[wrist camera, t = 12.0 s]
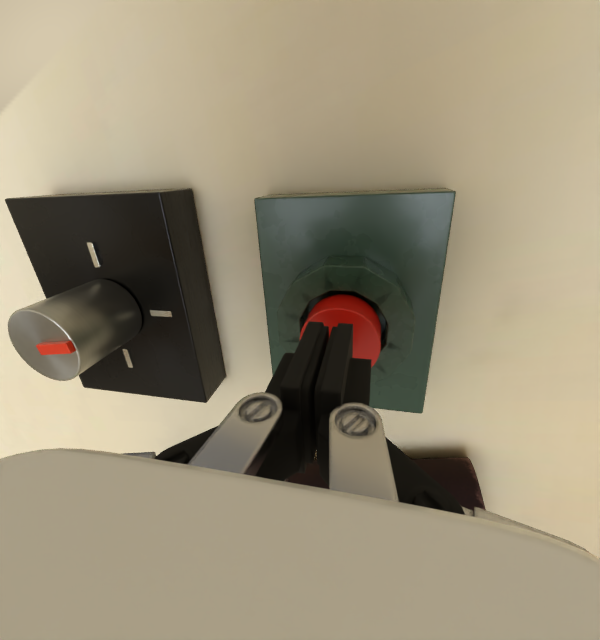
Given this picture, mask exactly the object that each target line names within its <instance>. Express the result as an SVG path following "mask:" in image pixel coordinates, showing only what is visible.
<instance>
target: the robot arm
mask: <svg viewBox="0 0 600 640" xmlns="http://www.w3.org/2000/svg"><path fill="white" fill-rule="evenodd" d="M371 362H372V359H361V358H353V324H347V323H338V326H337V327H332V330H331V333H330V337H329V327H328V326H324V323H323V322H310V321H309V322H308V324H307V326H306V328H305V331H304V333H303V335H302V337H301V340H300V342H299V344H298V346H297V349H296V351H295V353H285V354H284V355H283V357H282V359H281V361H280V363H279V365H278V367H277V369H276V371H275V373H274V375H273V377H272V379H271V381H270V383H269V385H268V387H267V389H266V391H265V393H264V392H260V393H254V394H250V395H248V396H246V397H244V398H242V399H241V400H240V401H239V402H238V403H237V404H236V405H235V406H234V408H233V409H232V410H231V411H230V413H229V414H228V415H227V416H226V417H225V419H224V420H223V421H222V422H221V424H220V425H219V426H217V427H215V428H212V429H210V430H208V431H206V432H203V433H201V434H199V435H197V436H194V437H192V438H190V439H188V440H185V441H183V442H181V443H179V444H177V445H174V446H172V447H170V448H168V449H166V450H164V451H163V452H161V453H160V454H159V455H158V456H156V454H155V452H144V453H125V454H118V453H111V452H104V451H95V450H86V449H64V448H59V449H44V450H37V451H31V452H26V453H20V454H15V455H12V456H8V457H5V458H2V459H0V640H600V558H599V557H597V556H594V555H592V554H591V553H589V552H588V551H587V550H585V549H584V548H582V547H580V546H578V545H576V544H574V543H572V542H570V541H568V540H565V539H562V538H560V537H557V536H554V535H551V534H549V533H546V532H543V531H541V530H538V529H535V528H532V527H530V526H527V525H524V524H521V523H519V522H516V521H513V520H510V519H508V518H505V517H502V516H500V515H497V514H494V513H491V512H489V511H486V510H483V509H480V508H478V507H474V510H473V511H472V510H470V509H467V508H464V507H462V506H461V505H460V504H459V502H458V501H457V500H456V499H455V498H454V497H453V496H452V495H451V494H450V493H449V492H448V491H447V490H446V489H445V488H443V487H442V486H441V485H440V484H439V483H438V482H437V481H435V480H434V479H433V478H432V477H431V476H430V475H429V474H427V473H426V472H425V471H424V470H423V469H422V468H420V467H419V466H418V465H417V464H416V463H415V462H414V461H412V460H411V459H410V458H409V457H408V456H407V455H405V454H404V453H403V452H402V451H401V450H400V449H399V448H397V447H396V446H395V445H394V444H393V443H392V442H391V441H389V440H388V439H387V438H386V437H385V433H384V428H383V423H382V420H381V417H380V415H379V414H378V413H377V412H376V410H374V409H373V408H371V407H370V406H369V402H370V382H371ZM316 450H317V464H318V465H319V475H320V476H321V477H322V479H323V480H324V481H325V482H326V484H327V485H328V486H329V489H324V488H318V487H312V486H307V485H301V484H295V483H290V476H292V475H294V474H295V473H297V472H298V473H304V474H305V470H306V466H307V463H310V464H313V461H314V457H315V452H316Z"/></svg>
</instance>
